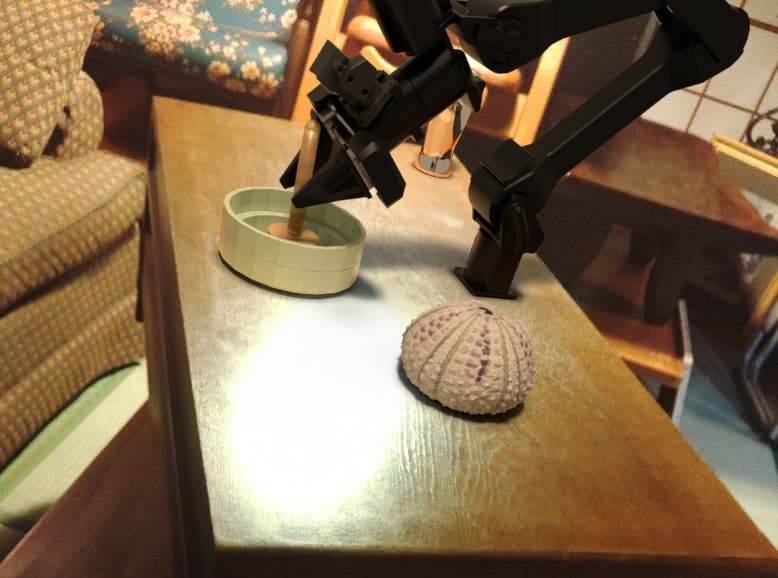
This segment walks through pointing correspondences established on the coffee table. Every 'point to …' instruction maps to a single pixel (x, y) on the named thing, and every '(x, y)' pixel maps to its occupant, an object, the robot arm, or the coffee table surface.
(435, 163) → the beer glass
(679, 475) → the coffee table surface
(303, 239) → the wooden stamp
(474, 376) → the sea urchin shell
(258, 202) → the bowl
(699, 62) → the robot arm
